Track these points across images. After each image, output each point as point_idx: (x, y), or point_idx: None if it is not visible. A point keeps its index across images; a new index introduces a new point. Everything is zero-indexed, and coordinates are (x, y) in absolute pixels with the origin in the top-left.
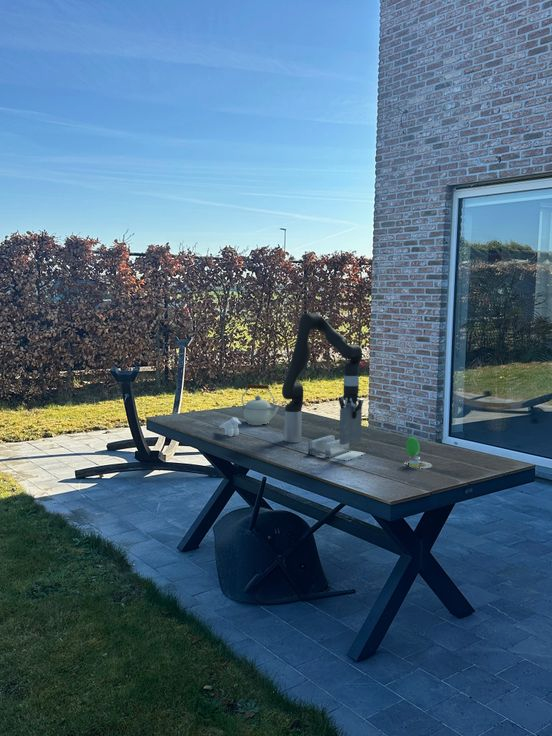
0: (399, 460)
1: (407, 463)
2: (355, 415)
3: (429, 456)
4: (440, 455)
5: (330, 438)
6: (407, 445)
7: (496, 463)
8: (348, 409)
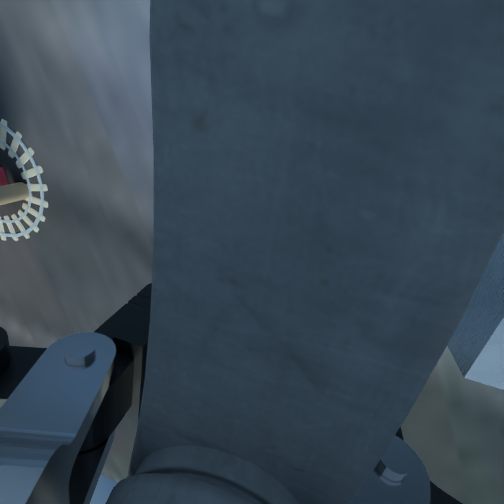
0: (77, 218)
1: (28, 179)
2: (134, 298)
3: (28, 319)
4: (11, 342)
5: (488, 327)
6: None
7: None
8: (163, 274)
